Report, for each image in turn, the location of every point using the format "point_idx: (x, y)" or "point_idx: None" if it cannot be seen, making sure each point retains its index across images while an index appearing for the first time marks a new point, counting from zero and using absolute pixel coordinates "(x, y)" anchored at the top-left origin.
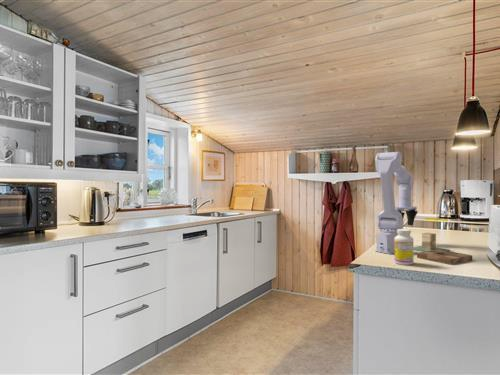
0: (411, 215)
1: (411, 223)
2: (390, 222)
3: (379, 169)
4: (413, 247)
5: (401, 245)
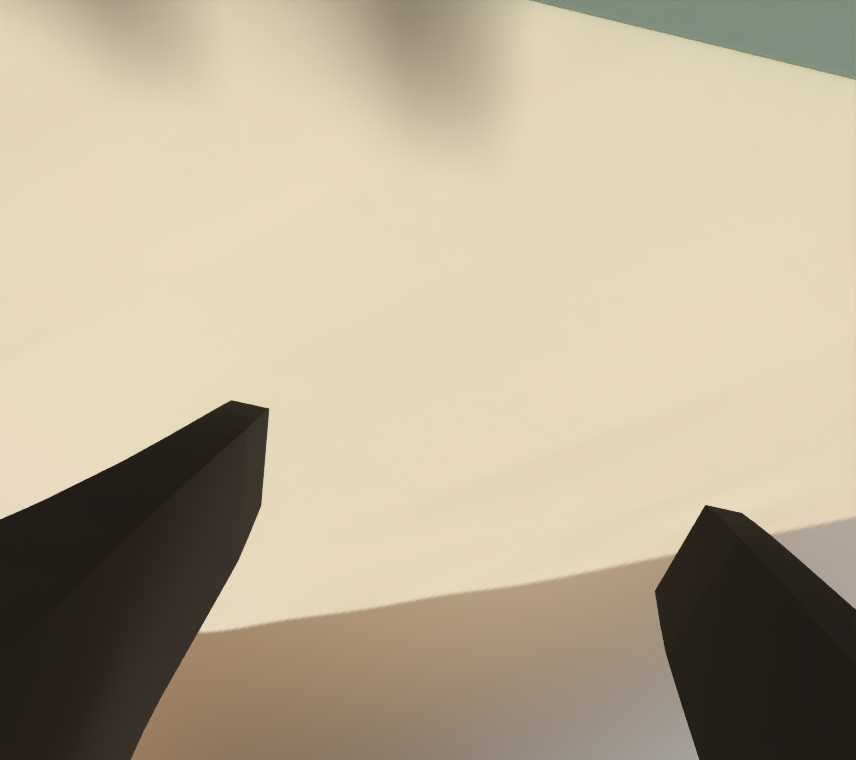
0: (41, 747)
1: (245, 451)
2: None
3: None
4: (773, 34)
5: None
